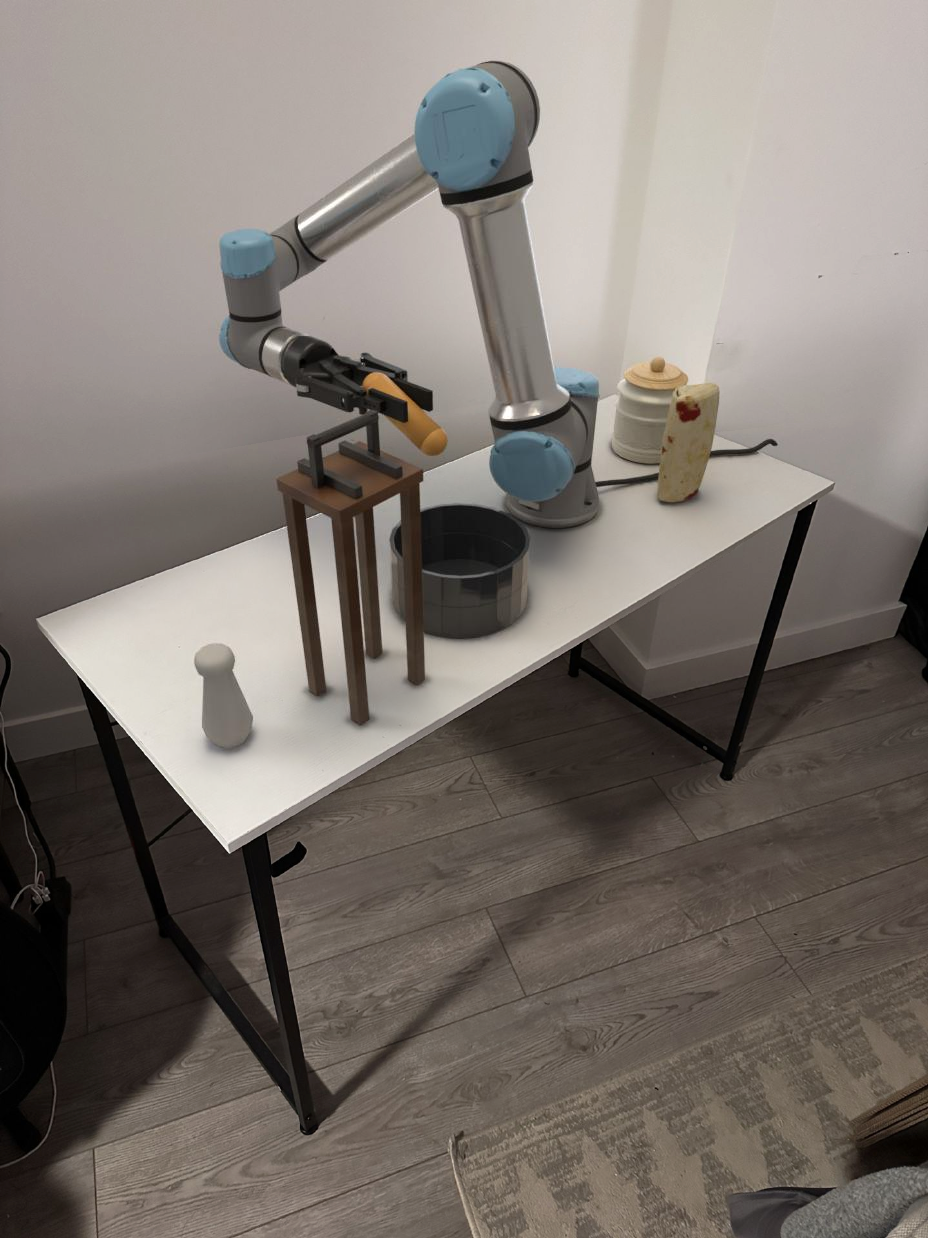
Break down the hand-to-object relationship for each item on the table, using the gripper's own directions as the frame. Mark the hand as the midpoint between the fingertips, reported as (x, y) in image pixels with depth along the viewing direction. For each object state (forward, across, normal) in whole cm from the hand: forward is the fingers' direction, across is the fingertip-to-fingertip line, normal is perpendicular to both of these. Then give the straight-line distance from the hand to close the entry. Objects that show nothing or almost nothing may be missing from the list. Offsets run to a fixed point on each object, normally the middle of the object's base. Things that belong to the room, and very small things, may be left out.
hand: (418, 406), depth 115 cm
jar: (+1, -58, -27) cm, 65 cm away
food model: (+15, -47, -27) cm, 56 cm away
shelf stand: (+11, +22, -27) cm, 37 cm away
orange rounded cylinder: (-3, 0, -4) cm, 5 cm away
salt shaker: (+6, +39, -27) cm, 48 cm away
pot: (+7, 0, -27) cm, 28 cm away
